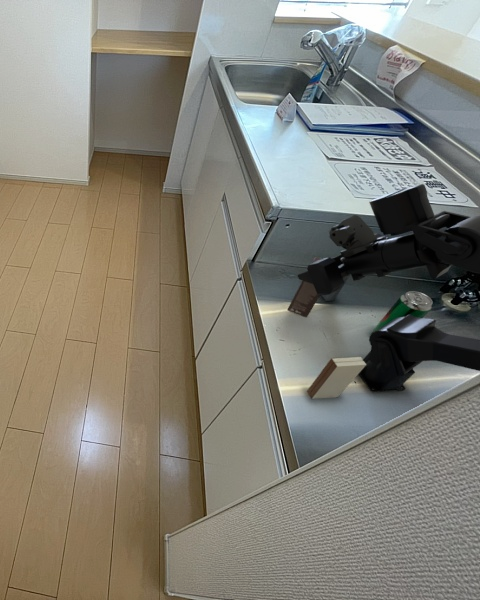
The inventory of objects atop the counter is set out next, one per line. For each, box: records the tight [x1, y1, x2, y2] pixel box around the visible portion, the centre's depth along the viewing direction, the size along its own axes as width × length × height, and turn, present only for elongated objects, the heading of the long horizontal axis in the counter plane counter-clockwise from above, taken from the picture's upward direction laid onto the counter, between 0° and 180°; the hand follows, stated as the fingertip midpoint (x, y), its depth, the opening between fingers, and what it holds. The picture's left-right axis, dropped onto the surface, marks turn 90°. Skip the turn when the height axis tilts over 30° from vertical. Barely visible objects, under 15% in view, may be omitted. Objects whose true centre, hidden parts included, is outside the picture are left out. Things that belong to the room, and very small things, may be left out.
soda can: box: [372, 290, 434, 333], centre depth 72 cm, size 5×5×12 cm
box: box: [286, 256, 322, 319], centre depth 75 cm, size 6×4×12 cm
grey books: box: [321, 274, 352, 302], centre depth 83 cm, size 4×2×11 cm, turn 1°
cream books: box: [306, 356, 366, 400], centre depth 64 cm, size 2×5×11 cm, turn 91°
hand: (310, 271), depth 74 cm, fingers closed on box, 7 cm apart
